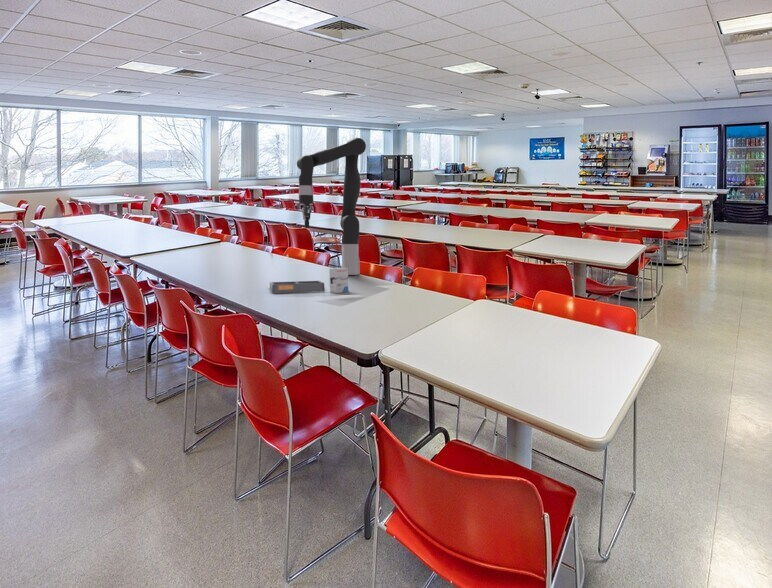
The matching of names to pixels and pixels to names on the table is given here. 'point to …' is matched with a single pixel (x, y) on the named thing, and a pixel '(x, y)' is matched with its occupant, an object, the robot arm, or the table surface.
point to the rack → (296, 286)
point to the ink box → (338, 280)
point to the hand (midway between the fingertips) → (306, 227)
